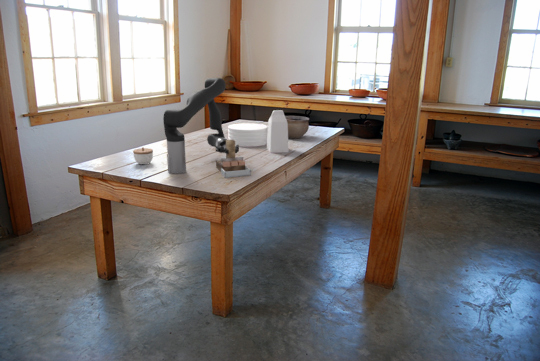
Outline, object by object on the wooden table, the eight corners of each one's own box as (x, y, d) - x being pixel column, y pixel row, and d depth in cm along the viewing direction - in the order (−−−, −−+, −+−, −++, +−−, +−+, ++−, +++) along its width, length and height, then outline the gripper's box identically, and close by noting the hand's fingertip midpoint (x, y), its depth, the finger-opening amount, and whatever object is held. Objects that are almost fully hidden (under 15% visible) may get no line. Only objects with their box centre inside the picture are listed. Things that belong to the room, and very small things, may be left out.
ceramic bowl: (277, 134, 333) (278, 115, 329) (305, 134, 336) (306, 115, 331) (281, 140, 312) (282, 119, 308) (311, 140, 315) (311, 119, 310)
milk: (270, 152, 276) (270, 111, 268) (266, 148, 286) (266, 109, 279) (288, 151, 278) (289, 111, 270) (284, 148, 289) (285, 109, 281)
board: (221, 173, 229) (221, 166, 228) (216, 167, 240) (216, 160, 238) (245, 171, 233) (245, 164, 232) (238, 165, 244) (238, 159, 243)
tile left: (223, 167, 226) (223, 163, 226) (222, 165, 229) (222, 161, 229) (230, 166, 227) (230, 162, 227) (228, 164, 231) (228, 161, 230)
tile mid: (231, 166, 228) (231, 162, 227) (229, 164, 231) (229, 161, 230) (237, 165, 229) (237, 162, 228) (235, 164, 232) (235, 160, 231)
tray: (224, 177, 222) (224, 172, 221) (220, 173, 229) (220, 168, 228) (250, 175, 226) (250, 169, 225) (246, 171, 233) (246, 165, 233)
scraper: (221, 164, 229) (221, 142, 226) (219, 162, 234) (218, 140, 230) (243, 162, 233) (243, 141, 230) (240, 160, 238) (240, 139, 235)
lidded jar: (157, 162, 249) (156, 146, 246) (143, 166, 240) (142, 150, 238) (144, 160, 254) (143, 144, 252) (130, 164, 246) (128, 148, 243)
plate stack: (245, 137, 324) (244, 121, 321) (275, 141, 309) (275, 125, 305) (220, 143, 302) (219, 127, 299) (251, 148, 287) (251, 131, 284)
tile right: (238, 165, 229) (238, 161, 228) (236, 164, 232) (236, 160, 232) (245, 165, 230) (245, 161, 230) (243, 163, 233) (243, 159, 233)
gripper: (211, 139, 241) (219, 145, 226) (235, 137, 246) (244, 143, 231) (211, 152, 244) (219, 159, 228) (235, 150, 249) (245, 157, 233)
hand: (232, 151), depth 230 cm, fingers closed on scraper, 4 cm apart
